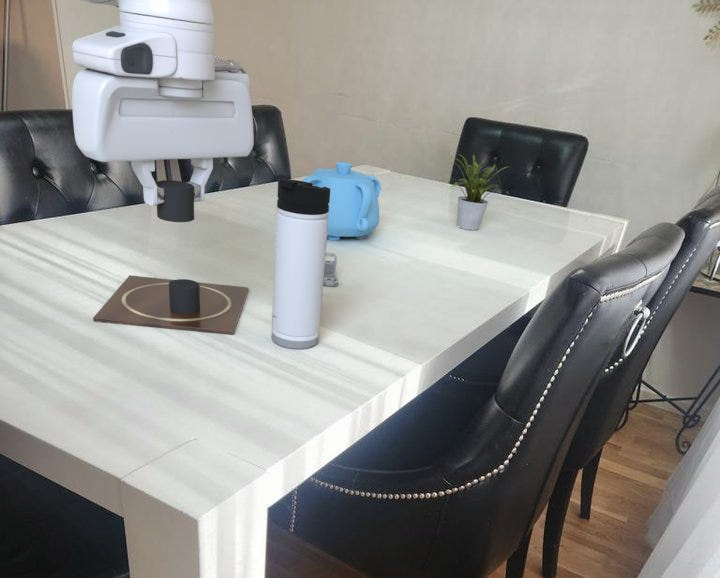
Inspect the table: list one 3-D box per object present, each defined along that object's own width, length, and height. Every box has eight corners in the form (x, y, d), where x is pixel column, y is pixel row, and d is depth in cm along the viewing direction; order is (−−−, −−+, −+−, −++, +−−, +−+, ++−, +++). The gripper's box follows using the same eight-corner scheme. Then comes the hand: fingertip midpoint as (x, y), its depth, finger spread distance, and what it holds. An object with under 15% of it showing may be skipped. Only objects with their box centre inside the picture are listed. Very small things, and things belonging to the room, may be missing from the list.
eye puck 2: (173, 302, 91) (172, 277, 89) (202, 305, 91) (201, 280, 89) (167, 312, 88) (165, 287, 86) (197, 315, 88) (196, 290, 86)
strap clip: (338, 287, 106) (341, 261, 104) (320, 286, 106) (322, 260, 103) (332, 271, 113) (334, 246, 111) (314, 270, 113) (316, 245, 110)
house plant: (421, 220, 154) (433, 144, 145) (458, 217, 163) (472, 145, 154) (466, 236, 146) (481, 157, 137) (503, 231, 154) (520, 156, 145)
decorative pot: (363, 250, 127) (373, 175, 120) (287, 234, 130) (291, 160, 122) (383, 233, 141) (393, 164, 133) (314, 219, 143) (319, 151, 136)
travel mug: (259, 339, 85) (264, 175, 74) (291, 327, 90) (300, 171, 79) (297, 354, 83) (307, 186, 71) (327, 341, 87) (342, 181, 76)
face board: (93, 321, 84) (92, 316, 83) (129, 278, 99) (129, 274, 98) (233, 334, 85) (233, 330, 85) (248, 290, 100) (248, 286, 100)
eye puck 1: (149, 215, 72) (147, 181, 70) (179, 211, 75) (178, 179, 73) (172, 224, 70) (170, 189, 68) (201, 220, 73) (201, 187, 71)
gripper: (229, 57, 72) (228, 189, 80) (54, 41, 59) (74, 202, 66) (268, 65, 69) (263, 201, 77) (93, 50, 56) (109, 218, 63)
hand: (174, 202), depth 72 cm, fingers closed on eye puck 1, 4 cm apart
